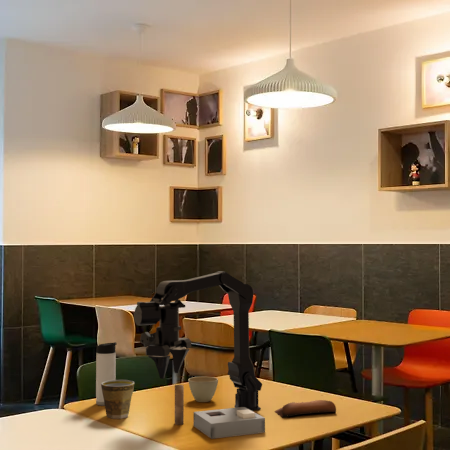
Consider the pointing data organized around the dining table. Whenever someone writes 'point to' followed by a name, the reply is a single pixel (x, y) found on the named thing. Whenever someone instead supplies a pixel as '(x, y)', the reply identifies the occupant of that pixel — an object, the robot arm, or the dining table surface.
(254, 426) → the panel
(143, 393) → the dining table surface
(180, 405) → the tan rounded rod
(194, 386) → the flower pot
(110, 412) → the ceramic cup
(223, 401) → the dining table surface
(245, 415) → the on button
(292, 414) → the sunglasses case
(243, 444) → the dining table surface
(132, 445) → the dining table surface
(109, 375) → the travel mug
